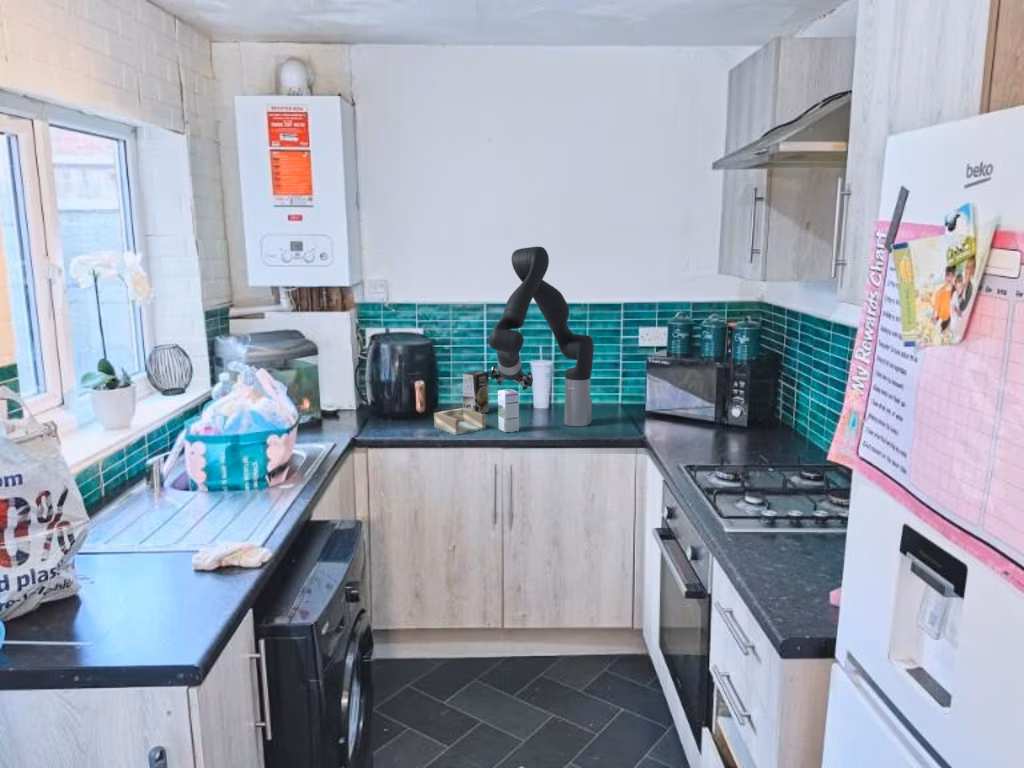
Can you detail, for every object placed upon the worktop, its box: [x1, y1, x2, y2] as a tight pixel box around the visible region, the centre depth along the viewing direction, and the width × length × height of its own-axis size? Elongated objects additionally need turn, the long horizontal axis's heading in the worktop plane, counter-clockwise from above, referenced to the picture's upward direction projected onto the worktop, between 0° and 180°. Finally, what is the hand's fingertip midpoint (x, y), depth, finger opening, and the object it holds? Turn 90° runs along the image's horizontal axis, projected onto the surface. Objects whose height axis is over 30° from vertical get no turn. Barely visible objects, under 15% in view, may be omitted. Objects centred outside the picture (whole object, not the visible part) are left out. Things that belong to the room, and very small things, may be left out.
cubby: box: [433, 407, 487, 436], centre depth 275 cm, size 13×14×6 cm
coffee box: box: [462, 370, 490, 414], centre depth 297 cm, size 9×6×16 cm
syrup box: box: [497, 388, 520, 434], centre depth 271 cm, size 6×6×14 cm
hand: (512, 385), depth 265 cm, fingers open, 8 cm apart
